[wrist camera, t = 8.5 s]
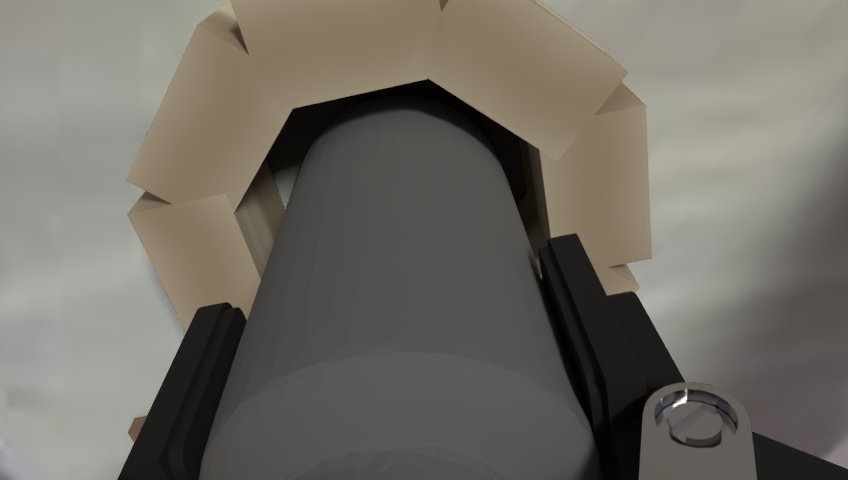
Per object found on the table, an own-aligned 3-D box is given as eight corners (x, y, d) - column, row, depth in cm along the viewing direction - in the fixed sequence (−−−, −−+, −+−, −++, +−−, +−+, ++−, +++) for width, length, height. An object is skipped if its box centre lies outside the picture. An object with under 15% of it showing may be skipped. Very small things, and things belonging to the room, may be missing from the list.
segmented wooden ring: (586, -104, 16) (637, -98, 12) (616, 298, 22) (656, 376, 19) (114, 8, 17) (41, 43, 13) (269, 363, 23) (245, 450, 20)
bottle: (476, 291, 20) (614, 1065, 7) (288, 261, 19) (53, 1065, 6) (529, 115, 17) (924, 856, 4) (312, 72, 16) (-23, 811, 3)
